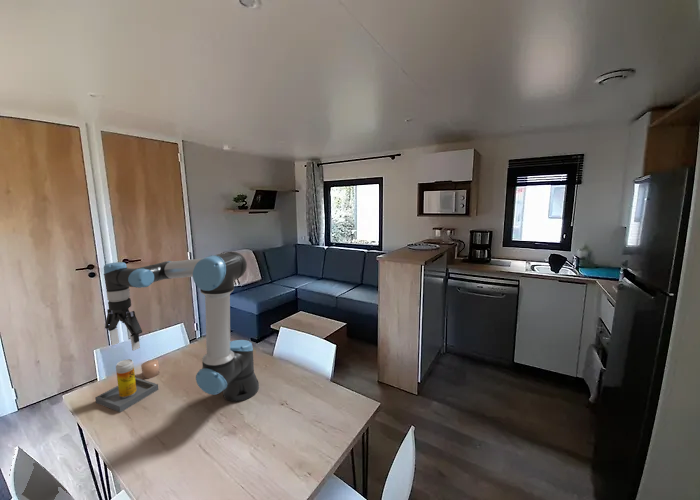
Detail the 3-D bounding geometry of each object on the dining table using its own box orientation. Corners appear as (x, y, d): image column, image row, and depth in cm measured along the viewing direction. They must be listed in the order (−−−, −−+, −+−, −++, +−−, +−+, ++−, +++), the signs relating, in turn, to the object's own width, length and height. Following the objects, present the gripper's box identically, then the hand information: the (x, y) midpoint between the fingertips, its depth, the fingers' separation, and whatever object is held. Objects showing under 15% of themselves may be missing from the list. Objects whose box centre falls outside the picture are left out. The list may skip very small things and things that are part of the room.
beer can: (129, 398, 126) (126, 366, 124) (115, 398, 126) (111, 366, 124) (140, 389, 132) (136, 358, 130) (126, 389, 132) (122, 358, 130)
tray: (158, 389, 133) (157, 384, 133) (120, 412, 119) (119, 406, 118) (135, 382, 139) (134, 376, 139) (96, 402, 124) (95, 397, 124)
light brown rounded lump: (162, 372, 147) (161, 361, 146) (148, 380, 141) (147, 368, 140) (153, 369, 150) (152, 358, 149) (139, 377, 143) (137, 365, 142)
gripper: (148, 299, 122) (154, 347, 125) (110, 293, 131) (116, 338, 134) (129, 305, 115) (136, 355, 118) (90, 298, 124) (97, 345, 127)
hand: (125, 346), depth 126 cm, fingers open, 13 cm apart
